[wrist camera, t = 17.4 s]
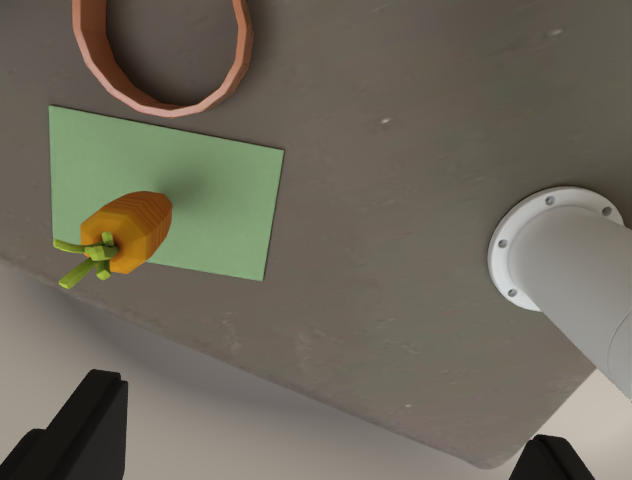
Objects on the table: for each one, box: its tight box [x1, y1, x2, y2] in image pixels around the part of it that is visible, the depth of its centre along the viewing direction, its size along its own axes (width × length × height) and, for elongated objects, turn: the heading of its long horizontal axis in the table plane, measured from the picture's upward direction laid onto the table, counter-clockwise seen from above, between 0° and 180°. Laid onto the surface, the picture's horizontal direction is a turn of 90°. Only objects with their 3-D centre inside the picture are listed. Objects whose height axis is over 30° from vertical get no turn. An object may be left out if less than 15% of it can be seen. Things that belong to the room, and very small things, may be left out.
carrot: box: [53, 191, 172, 289], centre depth 31 cm, size 5×5×15 cm
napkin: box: [49, 105, 284, 281], centre depth 39 cm, size 20×13×1 cm, turn 79°
